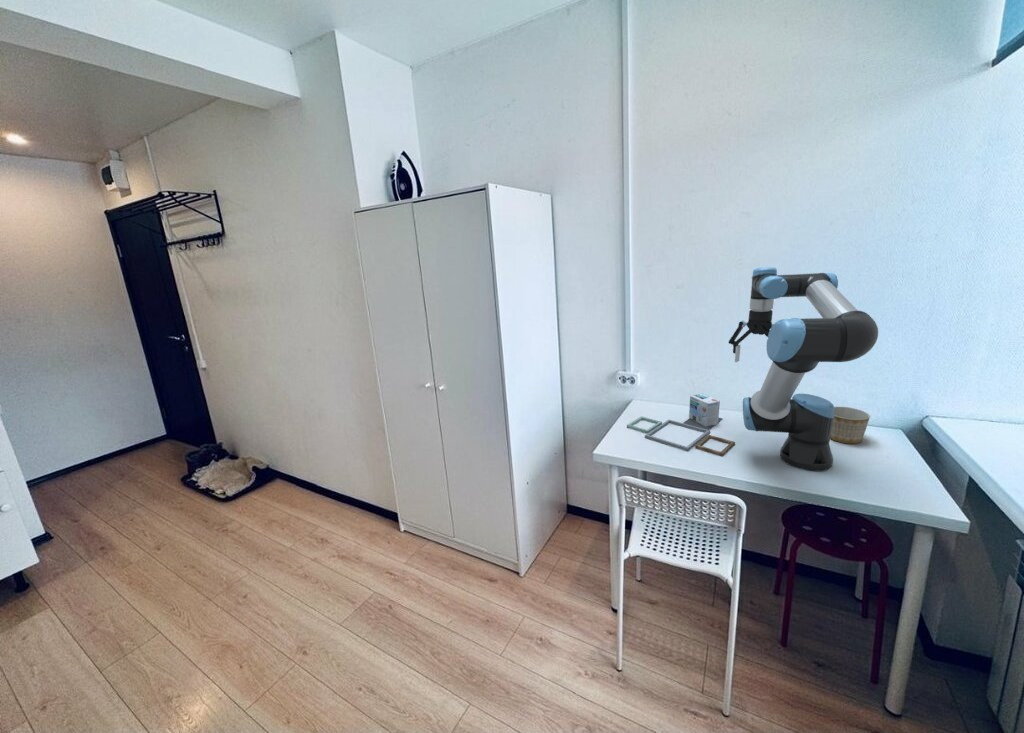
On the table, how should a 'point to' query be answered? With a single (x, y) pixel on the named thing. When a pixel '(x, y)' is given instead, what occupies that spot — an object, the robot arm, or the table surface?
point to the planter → (849, 425)
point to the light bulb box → (704, 409)
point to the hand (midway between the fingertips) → (755, 364)
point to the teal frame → (657, 423)
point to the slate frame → (649, 436)
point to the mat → (696, 424)
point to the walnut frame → (723, 452)
